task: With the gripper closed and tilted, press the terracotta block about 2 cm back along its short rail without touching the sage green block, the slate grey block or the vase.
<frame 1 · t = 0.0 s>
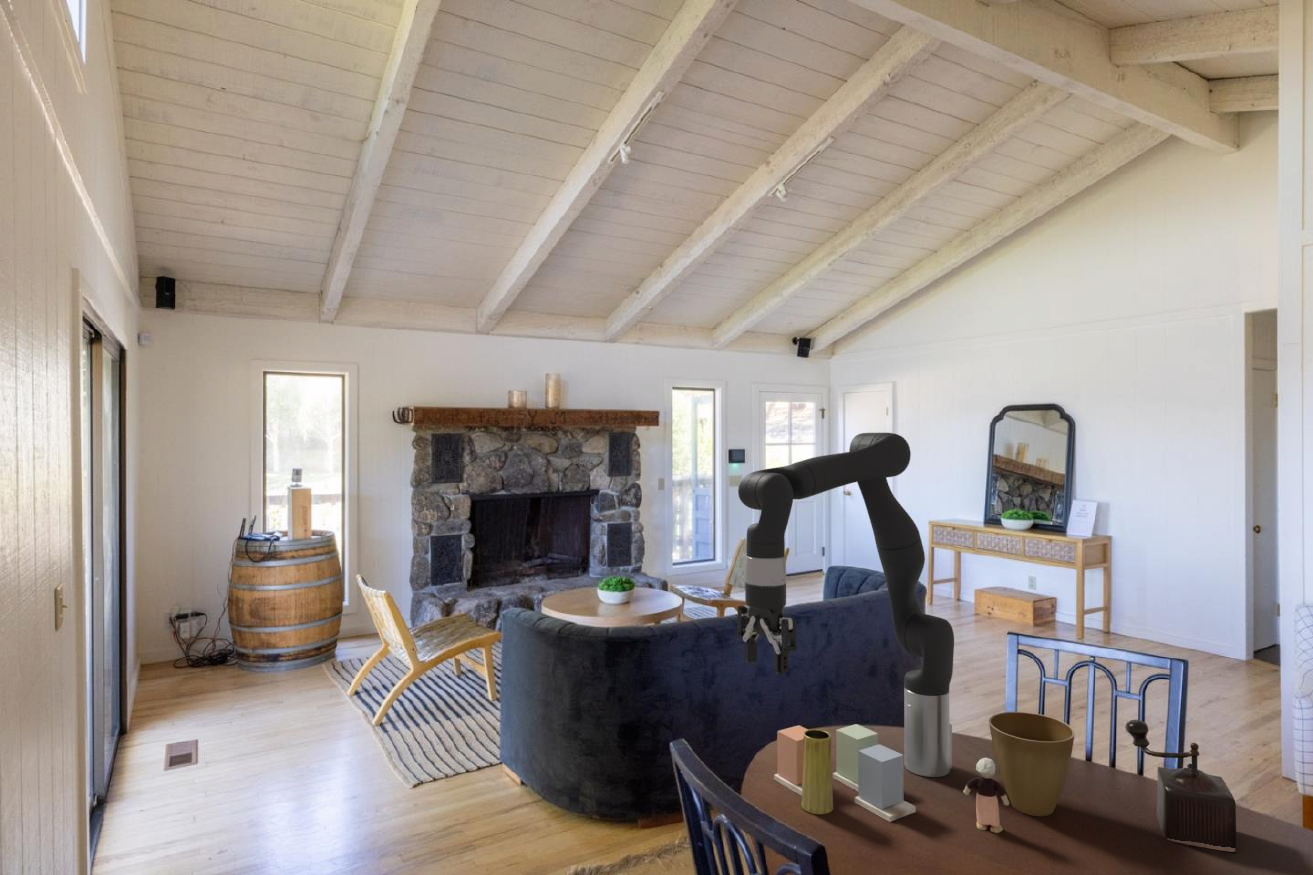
hand: (765, 667, 140), 29 cm above the table, tool pointing down, fingers open, 8 cm apart
grandmother figurine: (985, 828, 139), on the table
slate block: (880, 775, 147), point 6 cm above the table, slide at 0.0 cm
vase: (817, 808, 146), on the table
plant pot: (1030, 808, 146), on the table
terracotta block: (797, 754, 157), point 6 cm above the table, slide at 0.0 cm
block bases: (843, 787, 154), on the table
dark brown coffee grinder: (1177, 830, 138), on the table
sage block: (856, 752, 158), point 6 cm above the table, slide at 0.0 cm
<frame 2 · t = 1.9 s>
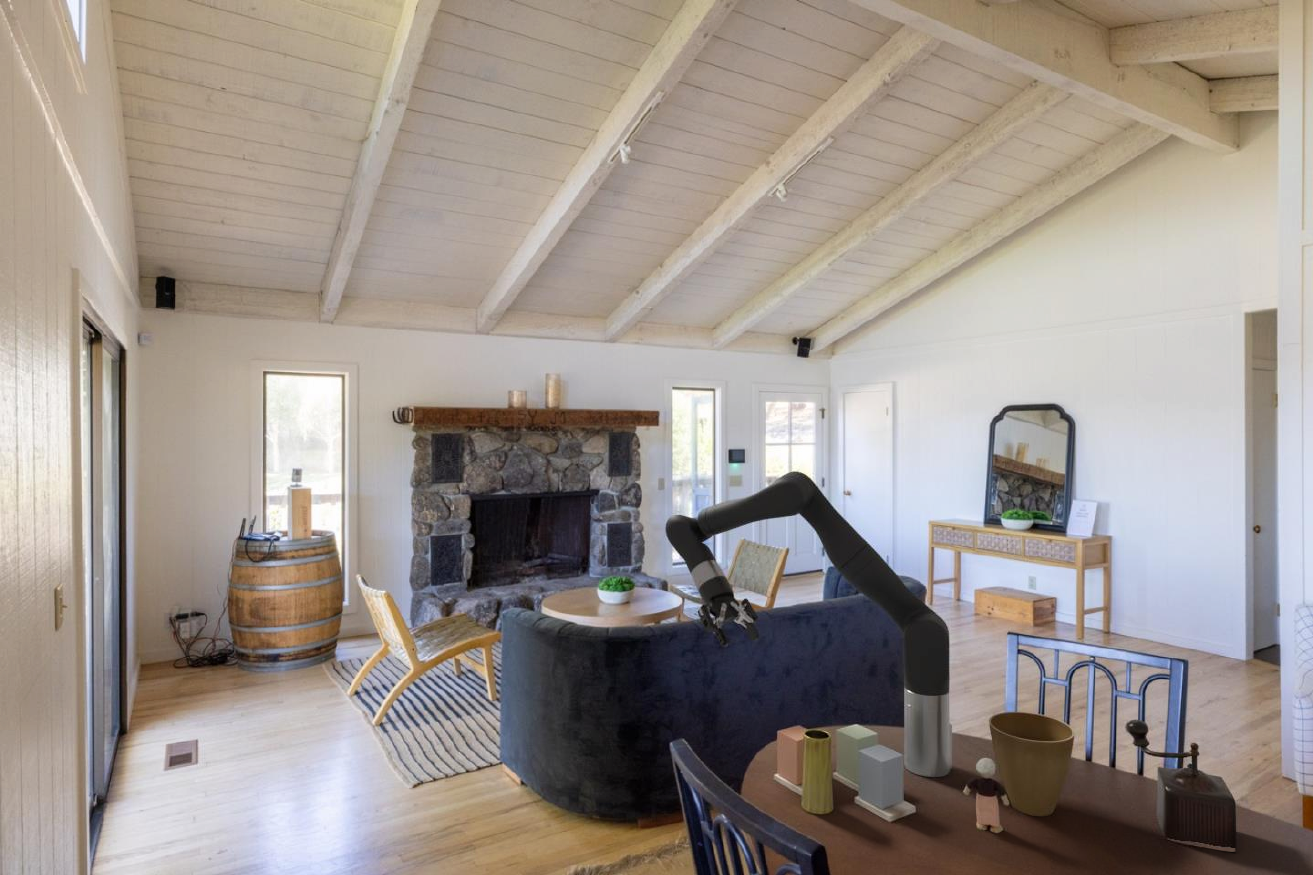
hand: (741, 642, 172), 25 cm above the table, tool tilted 45°, fingers open, 8 cm apart
nothing on the table moved.
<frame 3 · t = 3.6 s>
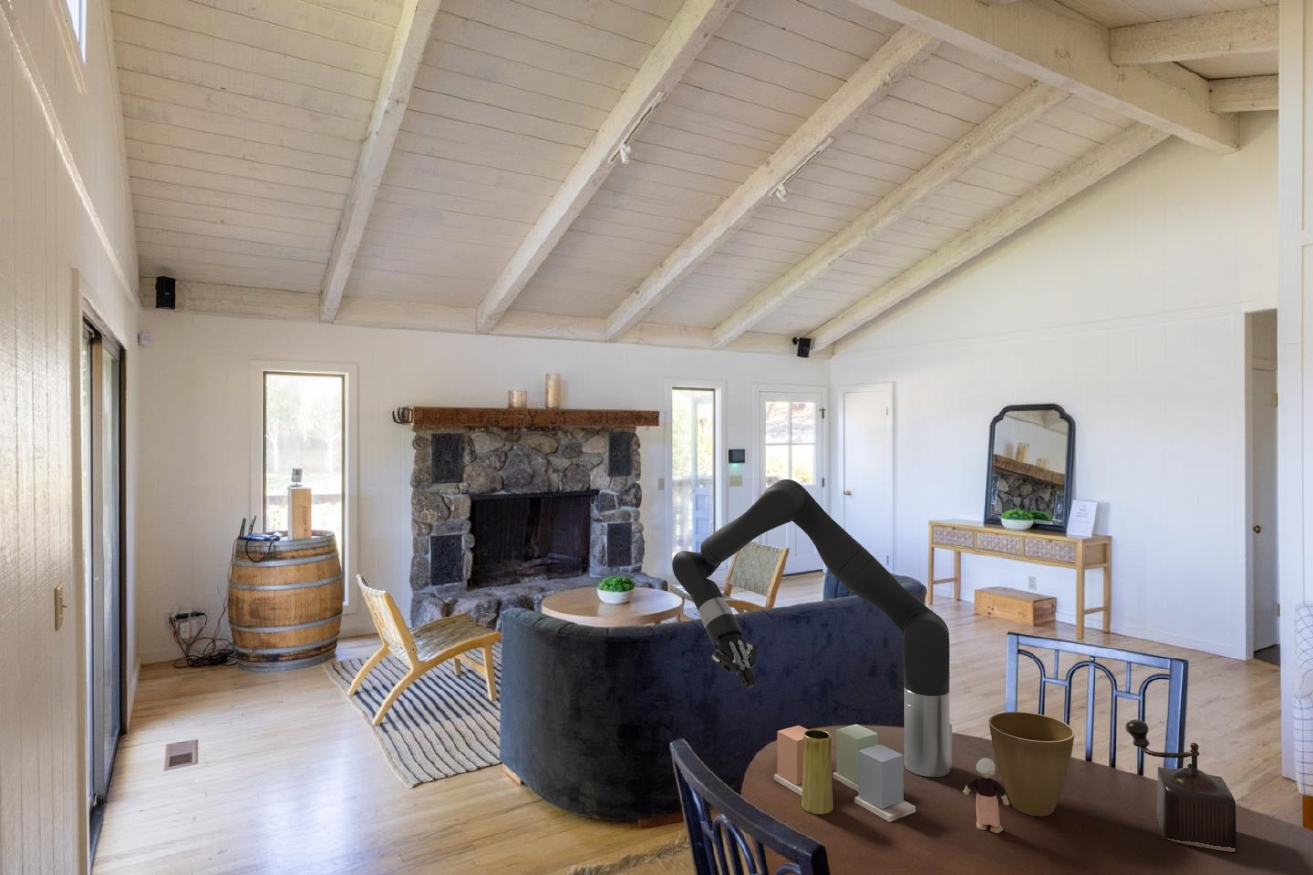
hand: (751, 686, 170), 15 cm above the table, tool tilted 45°, fingers closed
nothing on the table moved.
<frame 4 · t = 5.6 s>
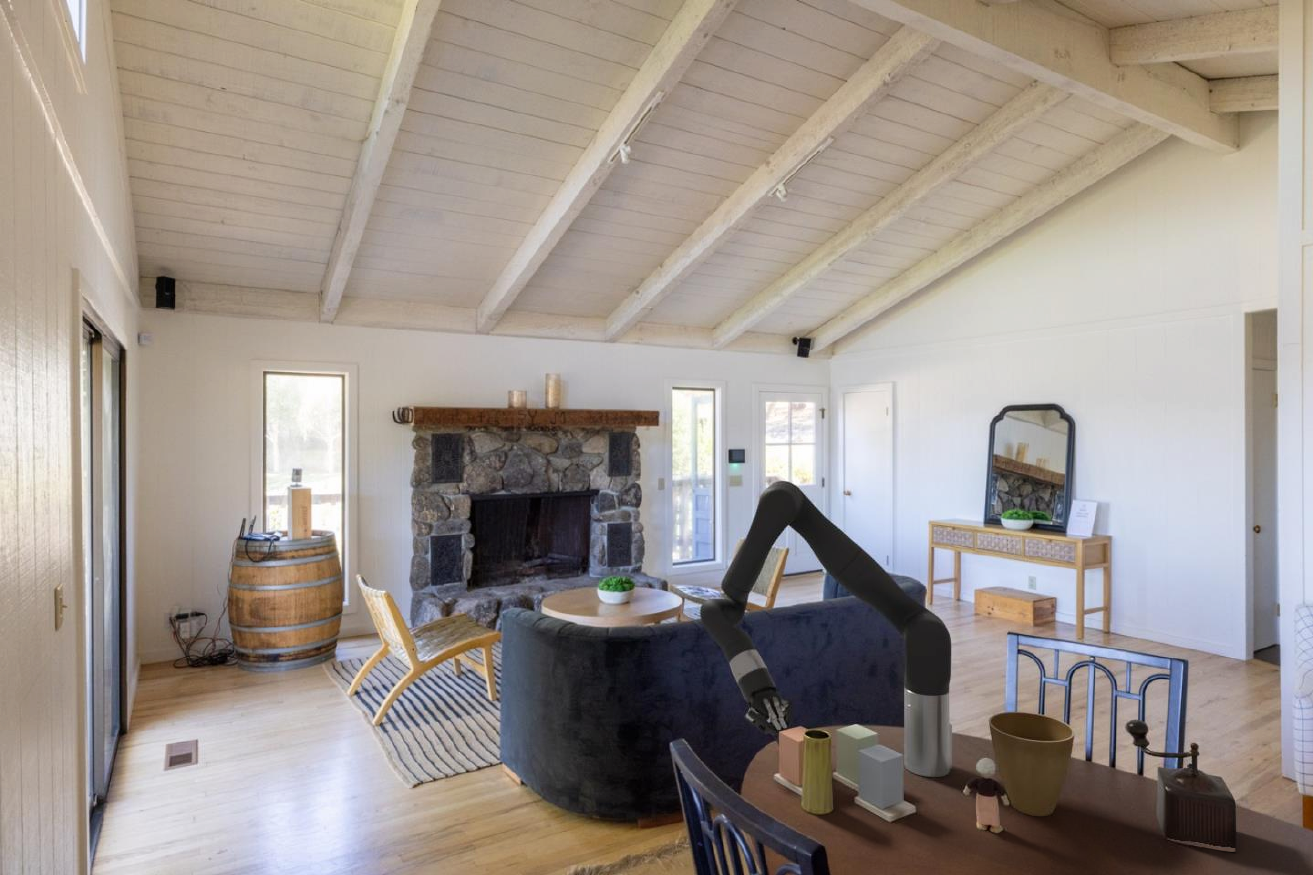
hand: (788, 748, 160), 6 cm above the table, tool tilted 45°, fingers closed
terracotta block: (799, 755, 157), point 6 cm above the table, slide at 0.5 cm, touching gripper
everything else where it was.
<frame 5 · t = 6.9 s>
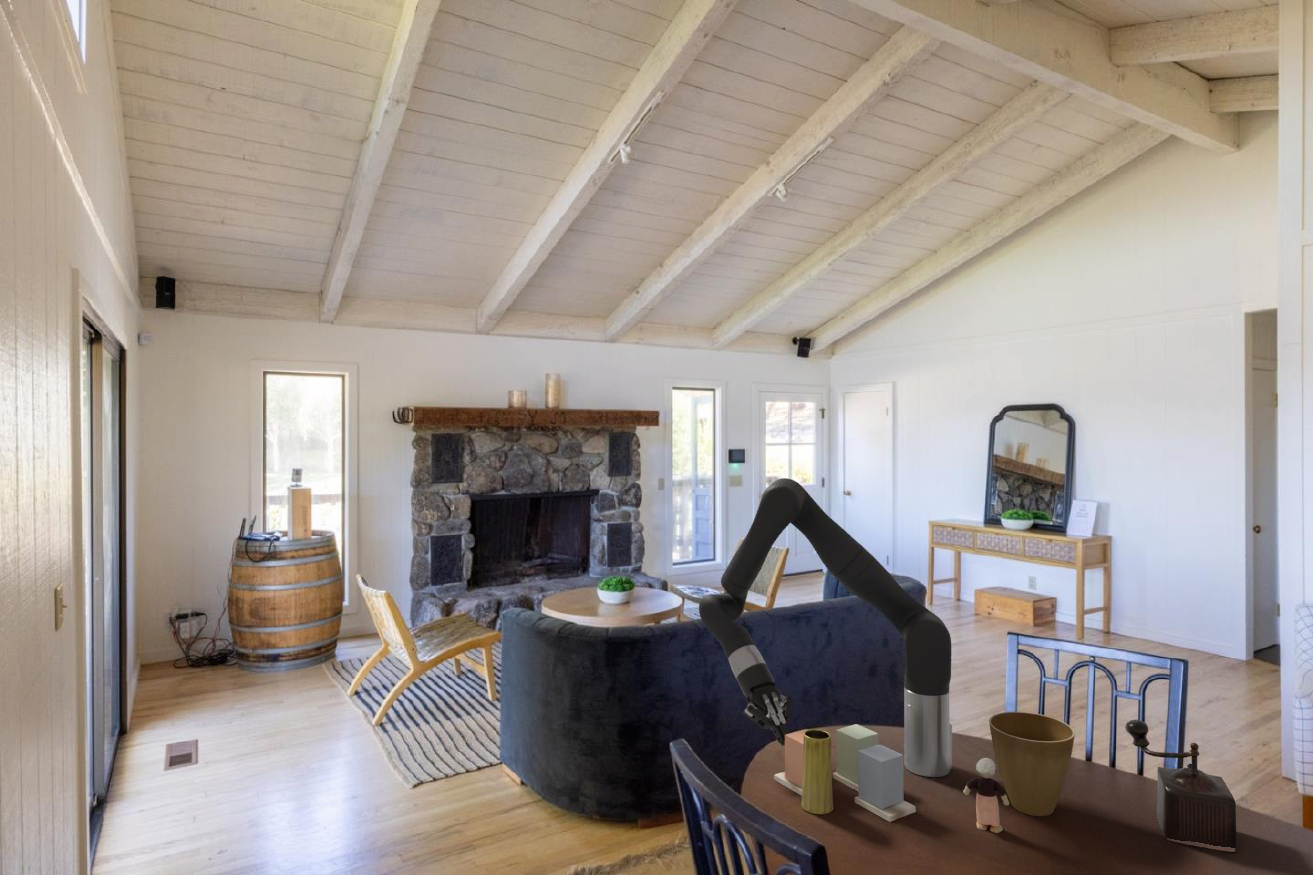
hand: (787, 743, 160), 7 cm above the table, tool tilted 45°, fingers closed
terracotta block: (805, 758, 155), point 6 cm above the table, slide at 2.4 cm
everything else where it was.
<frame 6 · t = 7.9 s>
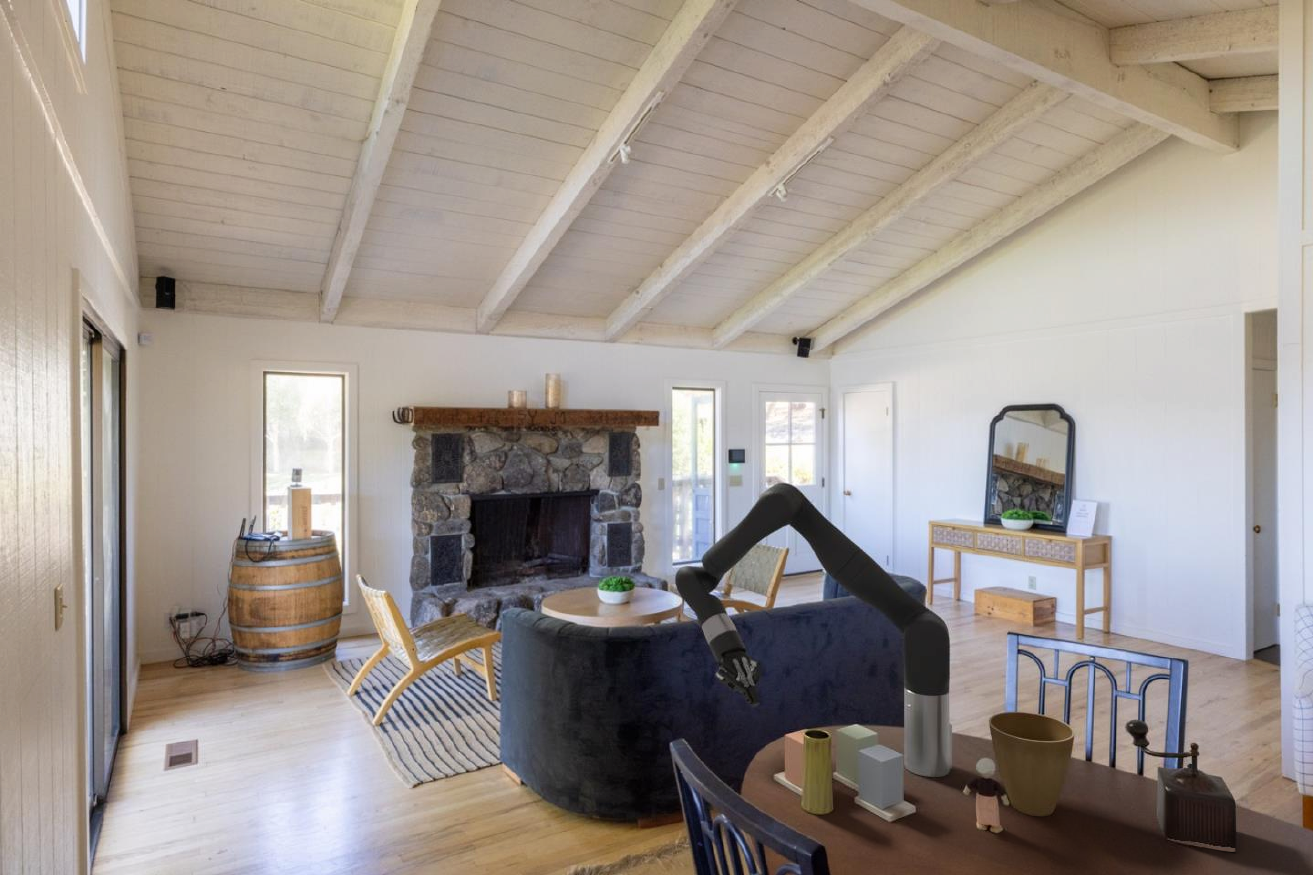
hand: (755, 704, 169), 12 cm above the table, tool tilted 45°, fingers closed
nothing on the table moved.
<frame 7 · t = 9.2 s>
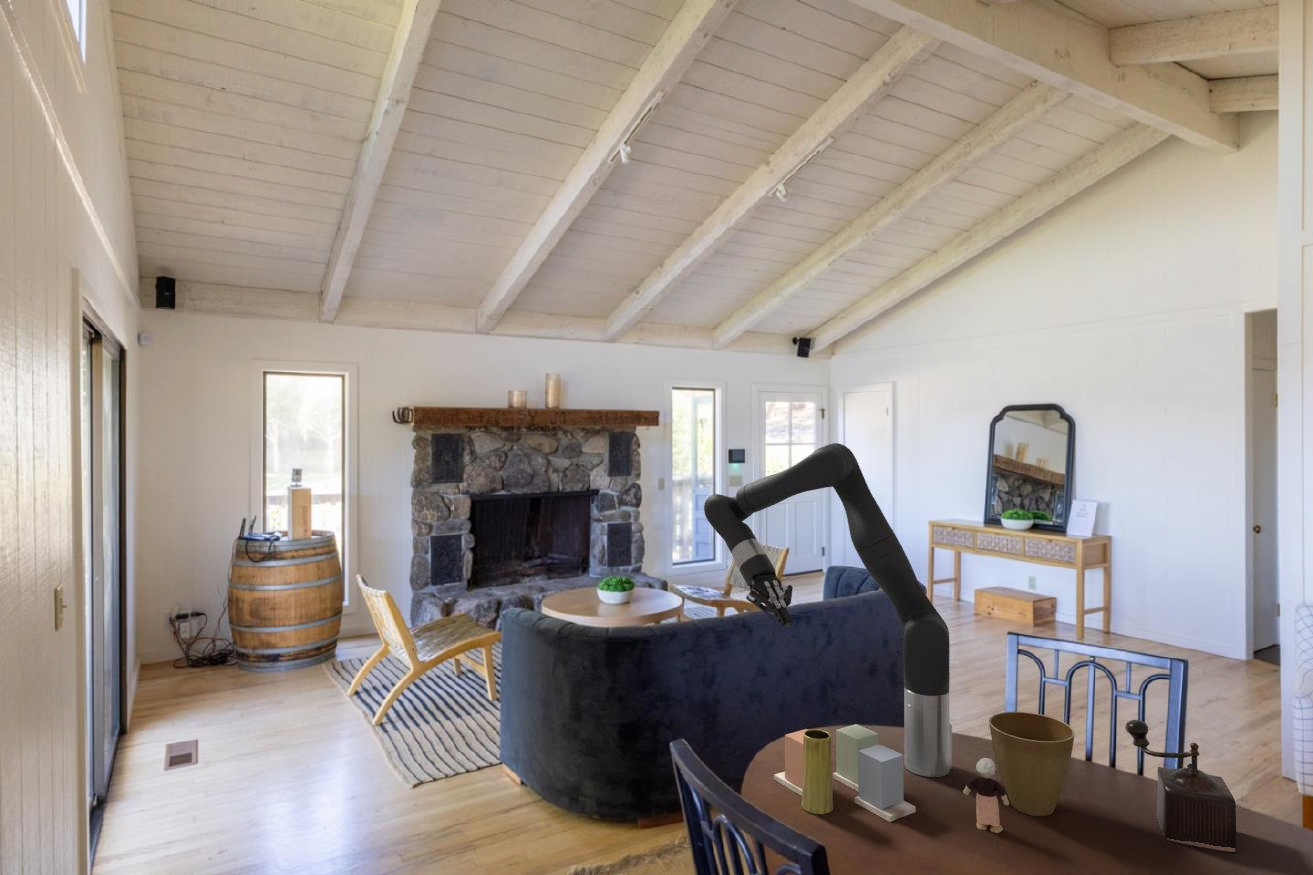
hand: (787, 624, 169), 30 cm above the table, tool tilted 45°, fingers closed
nothing on the table moved.
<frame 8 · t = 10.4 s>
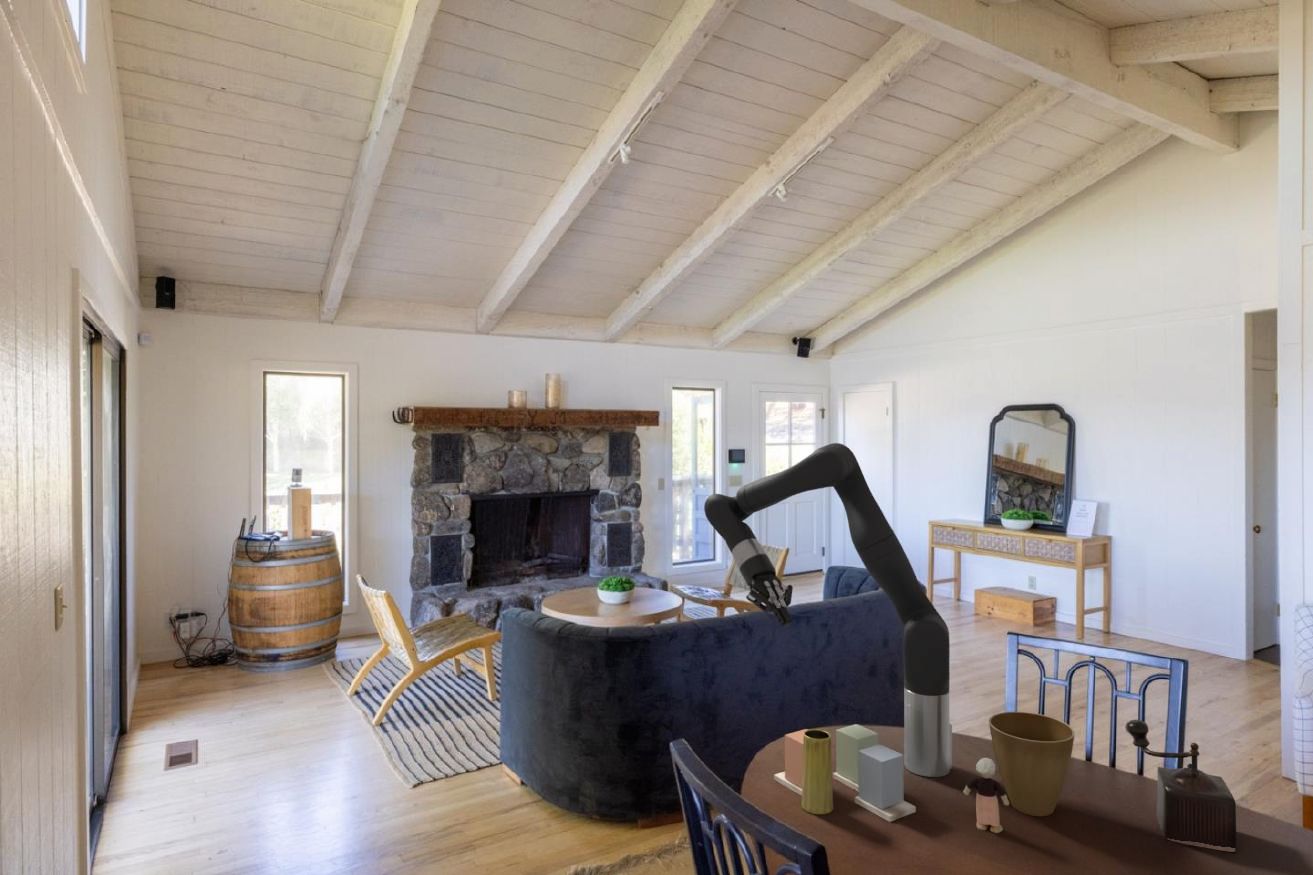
hand: (787, 624, 169), 30 cm above the table, tool tilted 45°, fingers closed
nothing on the table moved.
at the end: terracotta block slide at 2.4 cm; sage block slide at 0.0 cm; slate block slide at 0.0 cm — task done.
